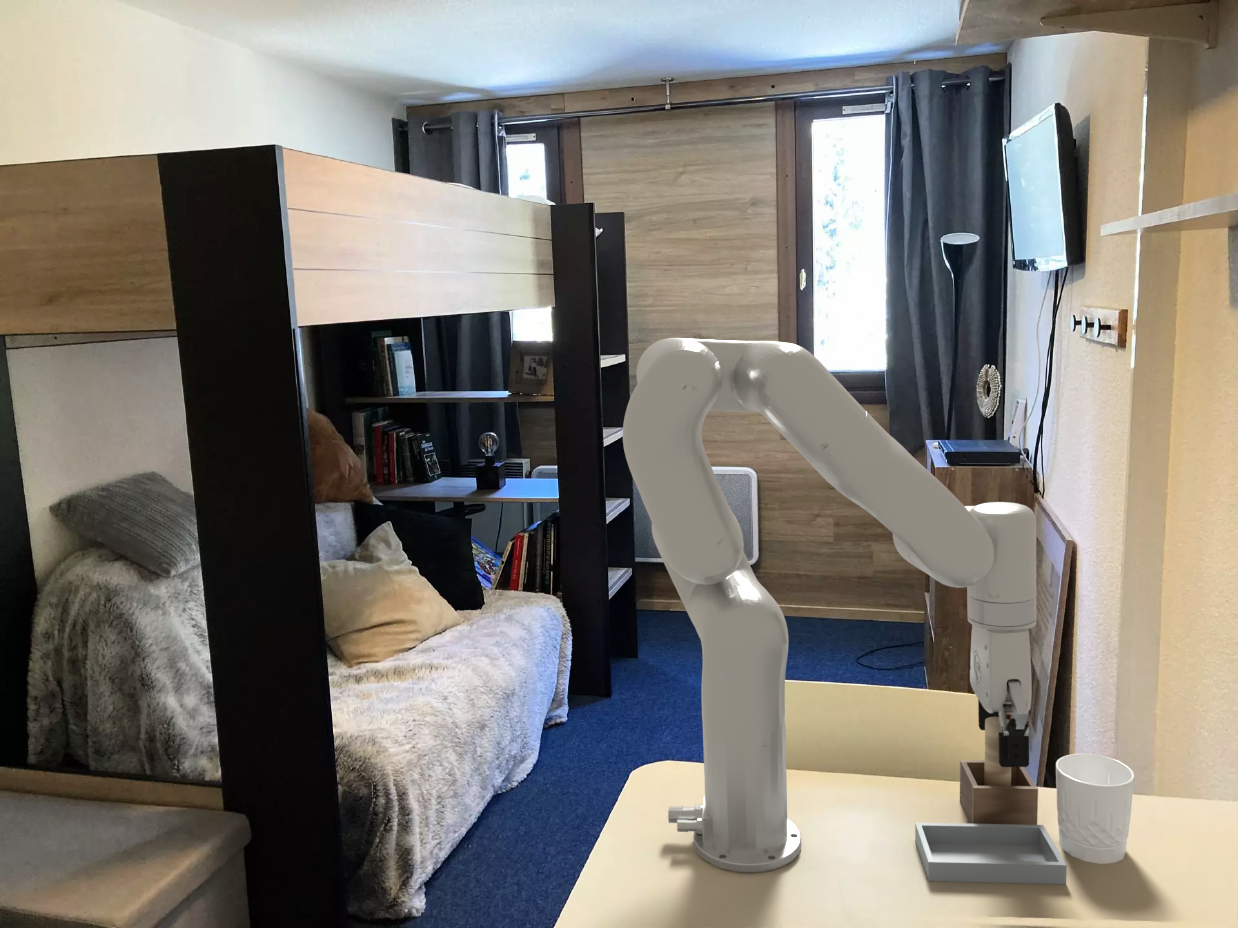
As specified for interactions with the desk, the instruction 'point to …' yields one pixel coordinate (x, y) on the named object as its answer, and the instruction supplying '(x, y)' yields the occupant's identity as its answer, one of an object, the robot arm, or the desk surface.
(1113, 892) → the desk surface
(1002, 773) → the dowel
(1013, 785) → the pen pot
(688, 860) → the desk surface
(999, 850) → the tray
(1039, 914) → the desk surface
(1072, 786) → the white cup
